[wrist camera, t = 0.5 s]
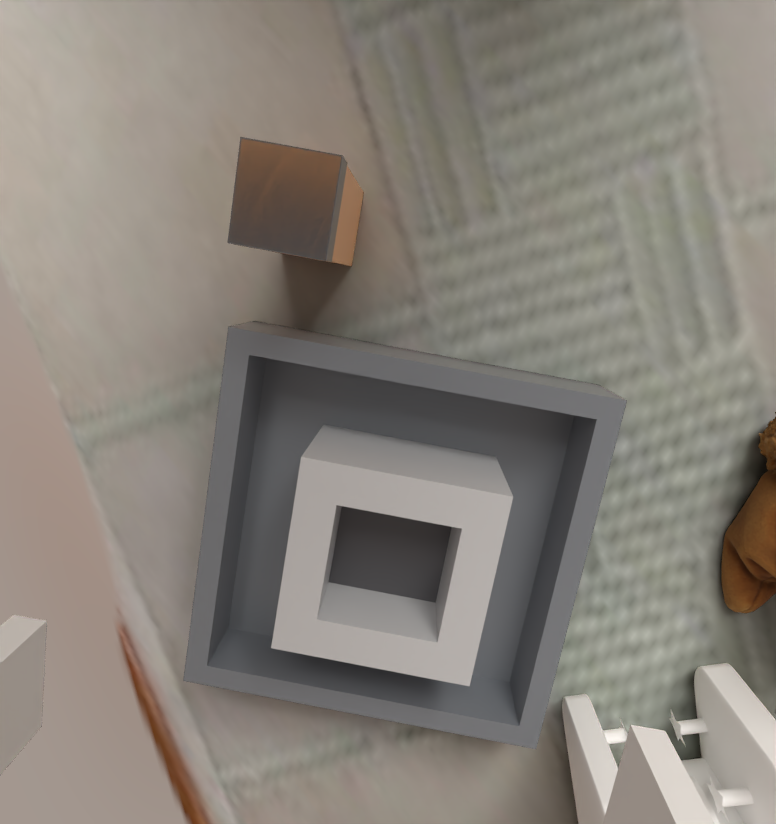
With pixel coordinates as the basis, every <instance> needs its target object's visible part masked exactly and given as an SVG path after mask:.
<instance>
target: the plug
mask: <svg viewBox="0 0 776 824" xmlns="http://www.w3.org/2000/svg"><path fill="white" fill-rule="evenodd" d="M363 194H364V192H363V191H362V189H361V187H360V186H359V184H358V183H357V181H356V179H355V178H354V176H353V175H352V173H351V171H350V170H349V168H348V167H347V162H346V160H345V158H344V157H343V155H337V154H332V153H326V152H320V151H315V150H309V149H304V148H298V147H293V146H287V145H282V144H276V143H271V142H265V141H260V140H254V139H249V138H243V137H241V138H240V146H239V154H238V162H237V170H236V179H235V187H234V195H233V203H232V211H231V219H230V227H229V235H228V243H231V244H235V245H240V246H246V247H251V248H257V249H262V250H268V251H273V252H277V253H282V254H287V255H293V256H298V257H304V258H309V259H314V260H320V261H325V262H331V263H336V264H342V265H347V266H352V261H353V255H354V249H355V243H356V237H357V231H358V225H359V219H360V212H361V206H362V200H363Z"/></svg>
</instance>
